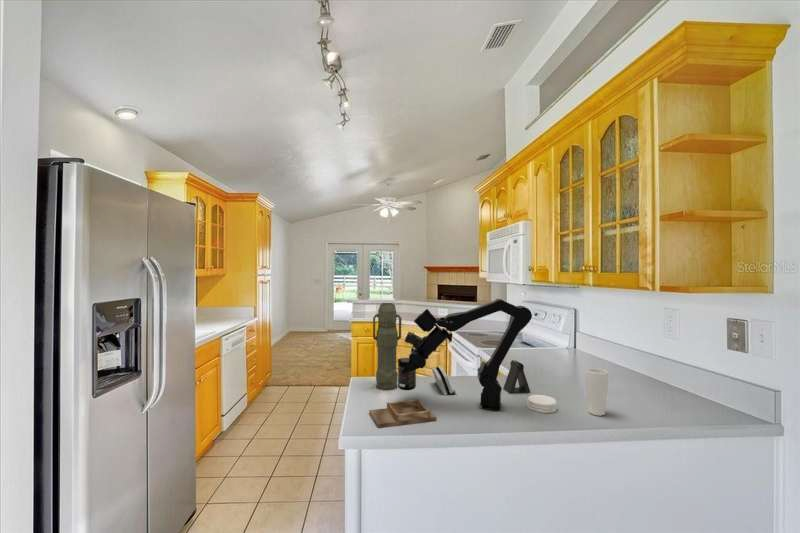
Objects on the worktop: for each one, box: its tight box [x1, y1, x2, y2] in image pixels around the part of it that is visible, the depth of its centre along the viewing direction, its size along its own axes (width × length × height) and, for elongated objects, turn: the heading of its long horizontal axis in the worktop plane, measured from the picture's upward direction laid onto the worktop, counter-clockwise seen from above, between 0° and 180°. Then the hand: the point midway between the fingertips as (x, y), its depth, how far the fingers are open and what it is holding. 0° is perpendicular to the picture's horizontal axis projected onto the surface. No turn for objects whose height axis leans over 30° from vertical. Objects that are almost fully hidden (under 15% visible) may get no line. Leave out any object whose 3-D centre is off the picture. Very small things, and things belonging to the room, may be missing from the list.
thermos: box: [372, 302, 403, 391], centre depth 162 cm, size 9×12×35 cm
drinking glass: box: [586, 367, 609, 417], centre depth 135 cm, size 7×7×15 cm
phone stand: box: [502, 359, 531, 395], centre depth 159 cm, size 9×6×12 cm, turn 99°
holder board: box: [368, 399, 438, 429], centre depth 131 cm, size 20×12×3 cm, turn 108°
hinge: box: [431, 365, 457, 396], centre depth 161 cm, size 17×5×10 cm, turn 6°
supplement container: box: [397, 357, 417, 391], centre depth 144 cm, size 7×7×10 cm
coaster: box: [526, 394, 558, 414], centre depth 140 cm, size 10×10×4 cm
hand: (403, 369), depth 144 cm, fingers closed on supplement container, 7 cm apart
